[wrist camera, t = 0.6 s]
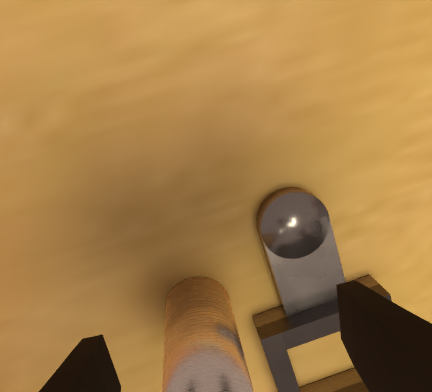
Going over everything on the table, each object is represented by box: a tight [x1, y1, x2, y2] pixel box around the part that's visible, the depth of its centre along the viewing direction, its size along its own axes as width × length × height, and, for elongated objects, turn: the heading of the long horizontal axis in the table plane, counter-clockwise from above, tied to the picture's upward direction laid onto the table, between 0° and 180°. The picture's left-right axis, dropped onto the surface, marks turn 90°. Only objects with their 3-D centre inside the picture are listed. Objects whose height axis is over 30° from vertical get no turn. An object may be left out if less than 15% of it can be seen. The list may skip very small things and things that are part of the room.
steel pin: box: [162, 277, 253, 392], centre depth 19 cm, size 4×4×9 cm
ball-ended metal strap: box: [253, 187, 391, 392], centre depth 24 cm, size 23×8×2 cm, turn 18°
